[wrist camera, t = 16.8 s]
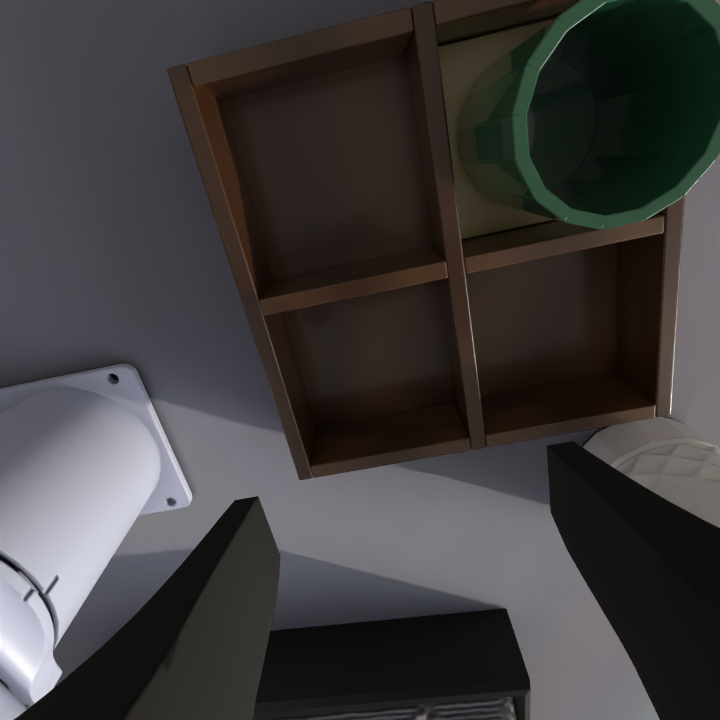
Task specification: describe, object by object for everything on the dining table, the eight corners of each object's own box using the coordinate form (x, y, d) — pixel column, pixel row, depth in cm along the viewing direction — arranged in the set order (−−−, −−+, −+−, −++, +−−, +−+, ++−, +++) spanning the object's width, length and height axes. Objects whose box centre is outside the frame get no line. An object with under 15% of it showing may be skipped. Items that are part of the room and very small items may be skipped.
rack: (308, 433, 22) (299, 481, 19) (204, 87, 16) (165, 68, 13) (622, 375, 21) (671, 415, 18) (628, -19, 15) (703, -70, 12)
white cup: (633, 374, 21) (847, 539, 12) (748, 450, 23) (1016, 648, 13) (521, 492, 24) (625, 703, 14) (632, 553, 25) (789, 777, 16)
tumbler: (465, 218, 17) (521, 247, 11) (447, 67, 15) (503, 8, 10) (599, 189, 17) (729, 203, 11) (598, 31, 15) (755, -56, 9)
